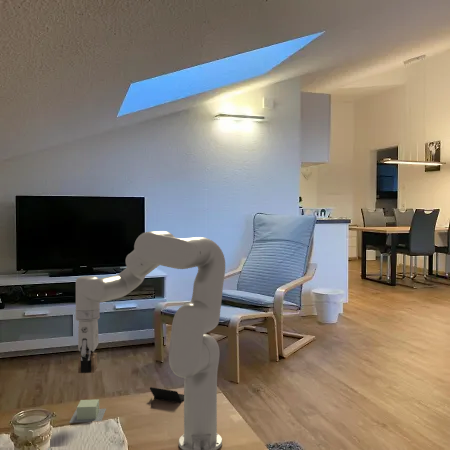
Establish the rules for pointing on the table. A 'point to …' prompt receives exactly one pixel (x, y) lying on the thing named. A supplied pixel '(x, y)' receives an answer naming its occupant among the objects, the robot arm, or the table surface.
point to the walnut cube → (93, 362)
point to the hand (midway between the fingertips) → (87, 368)
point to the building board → (99, 418)
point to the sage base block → (88, 409)
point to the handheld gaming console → (167, 395)
